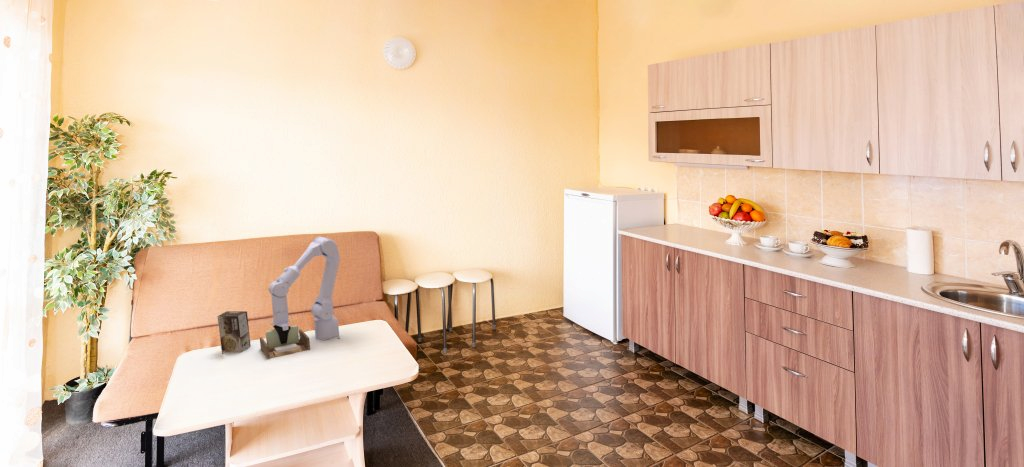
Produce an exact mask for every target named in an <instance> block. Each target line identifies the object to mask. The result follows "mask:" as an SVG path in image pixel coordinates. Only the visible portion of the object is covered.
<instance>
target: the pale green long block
mask: <svg viewBox="0 0 1024 467" xmlns="http://www.w3.org/2000/svg"><path fill="white" fill-rule="evenodd" d="M289 326H290V327H291V329H290V331H289V333H288V339H287V343H285V344H281V342H280V339H279V335H278V333H277V331H276V329H274V328H273V329H269V330H265V336H266V337H265V339H266V340H265V342H266V344H267V345H268V346H269V349H270V348H274V347H279V346H284V345H288V344H293V343H298V342H299V339H300V338H299V326H298V324H294V325H289Z"/></svg>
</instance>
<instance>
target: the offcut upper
mask: <svg viewBox="0 0 1024 467" xmlns="http://www.w3.org/2000/svg"><path fill="white" fill-rule="evenodd" d="M295 349H298V346H297V345H296V344H290V345H285V346H281V347H276V348H274V351H275V352H276V353H281V352H286V351H290V350H295Z"/></svg>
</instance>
